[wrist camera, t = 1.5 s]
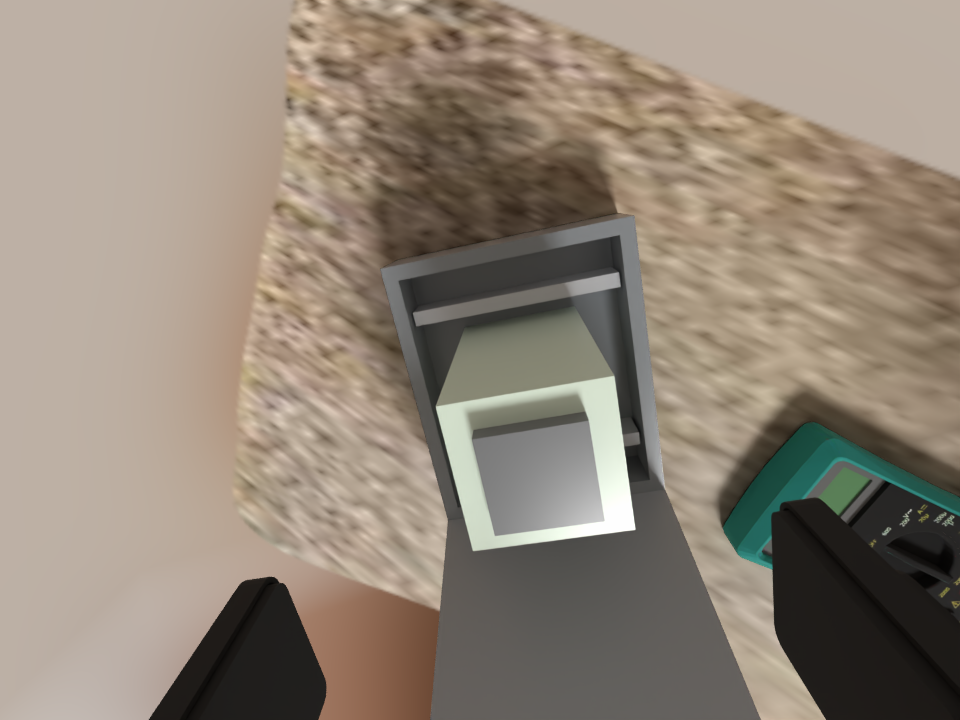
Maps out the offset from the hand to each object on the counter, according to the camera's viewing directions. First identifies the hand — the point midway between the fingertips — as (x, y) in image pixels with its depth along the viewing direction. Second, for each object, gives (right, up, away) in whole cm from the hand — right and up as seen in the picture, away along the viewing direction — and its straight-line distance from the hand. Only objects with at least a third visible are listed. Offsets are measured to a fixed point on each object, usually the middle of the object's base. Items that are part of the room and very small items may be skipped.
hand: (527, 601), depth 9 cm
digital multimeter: (+20, -4, +16) cm, 26 cm away
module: (+1, +4, +13) cm, 14 cm away
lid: (+2, -5, +8) cm, 10 cm away
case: (+1, +4, +14) cm, 15 cm away
